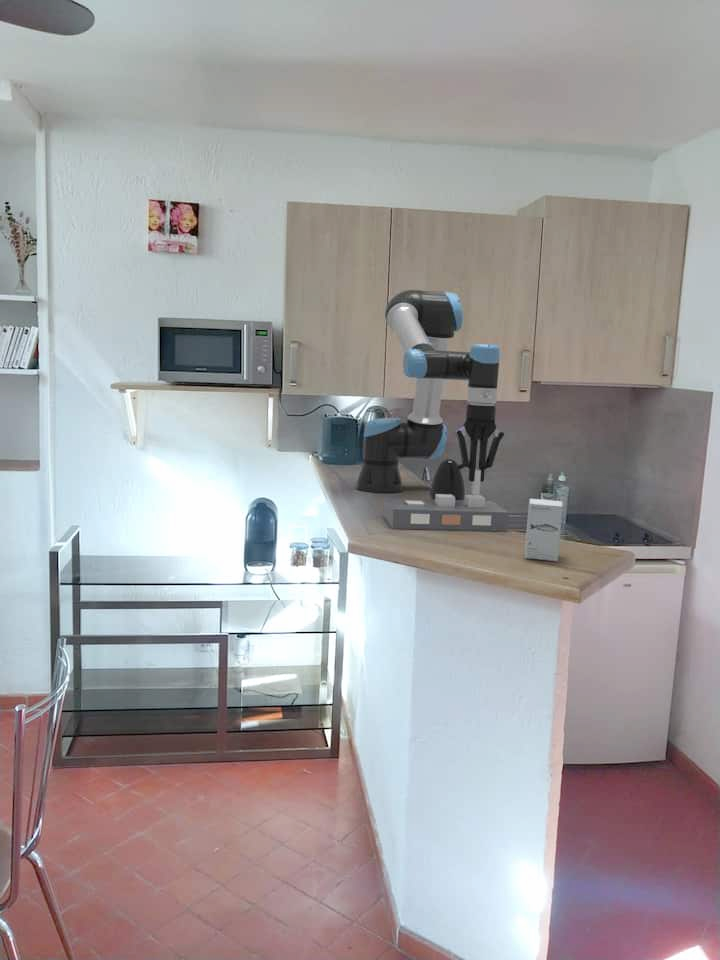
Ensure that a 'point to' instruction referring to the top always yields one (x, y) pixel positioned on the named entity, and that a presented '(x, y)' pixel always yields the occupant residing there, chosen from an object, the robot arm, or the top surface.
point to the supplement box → (543, 529)
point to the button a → (414, 503)
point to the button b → (444, 500)
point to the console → (444, 516)
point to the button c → (474, 501)
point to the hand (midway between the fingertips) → (475, 493)
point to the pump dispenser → (449, 480)
